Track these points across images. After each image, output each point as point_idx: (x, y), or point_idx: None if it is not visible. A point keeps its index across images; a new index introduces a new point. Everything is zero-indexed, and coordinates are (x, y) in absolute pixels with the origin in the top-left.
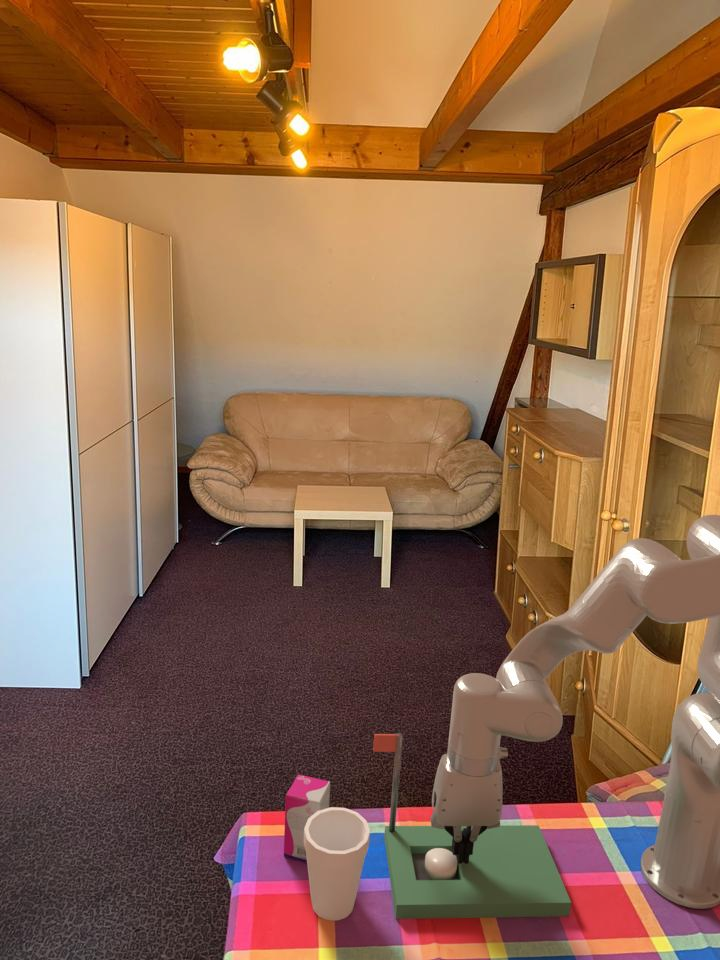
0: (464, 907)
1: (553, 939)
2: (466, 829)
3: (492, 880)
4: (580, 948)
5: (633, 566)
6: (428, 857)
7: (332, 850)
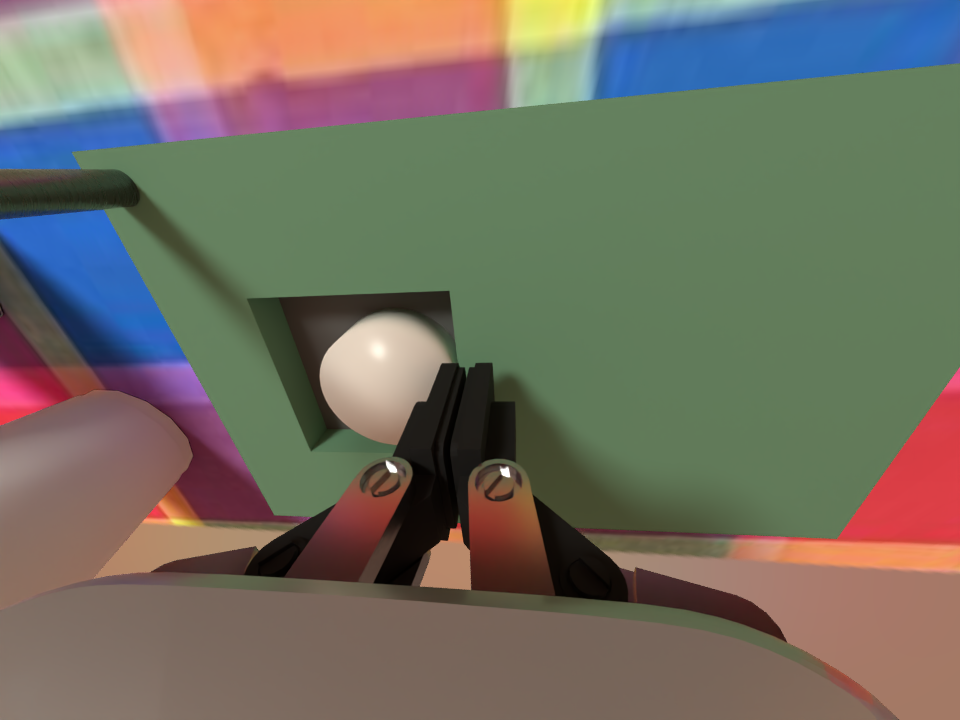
0: None
1: (695, 535)
2: (466, 513)
3: (584, 460)
4: (753, 555)
5: None
6: (333, 381)
7: None
